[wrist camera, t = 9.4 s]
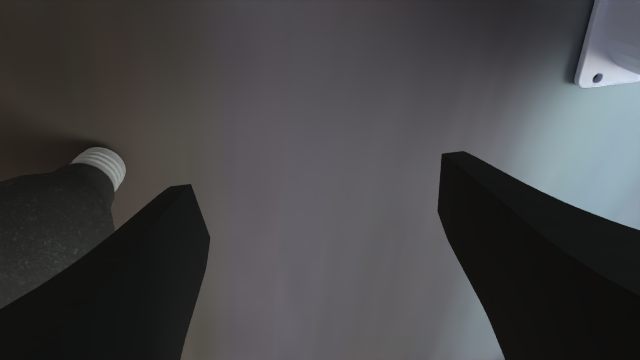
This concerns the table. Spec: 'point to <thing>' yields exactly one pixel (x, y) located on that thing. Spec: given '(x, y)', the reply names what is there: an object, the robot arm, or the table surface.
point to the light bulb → (55, 219)
